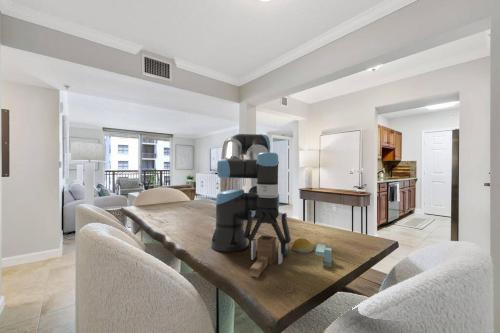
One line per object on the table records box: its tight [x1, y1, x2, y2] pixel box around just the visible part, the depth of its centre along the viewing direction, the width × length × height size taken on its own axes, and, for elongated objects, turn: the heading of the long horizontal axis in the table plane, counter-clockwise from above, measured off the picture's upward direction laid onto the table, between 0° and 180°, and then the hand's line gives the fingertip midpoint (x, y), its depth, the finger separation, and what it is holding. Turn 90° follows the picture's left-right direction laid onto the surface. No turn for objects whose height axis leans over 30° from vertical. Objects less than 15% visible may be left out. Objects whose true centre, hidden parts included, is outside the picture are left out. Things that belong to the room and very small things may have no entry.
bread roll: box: [291, 237, 314, 254], centre depth 91 cm, size 8×9×4 cm
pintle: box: [282, 243, 289, 258], centre depth 84 cm, size 2×2×6 cm
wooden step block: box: [249, 234, 277, 279], centre depth 74 cm, size 15×5×8 cm, turn 159°
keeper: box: [314, 243, 332, 268], centre depth 79 cm, size 5×8×5 cm, turn 159°
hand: (266, 260), depth 79 cm, fingers open, 9 cm apart
